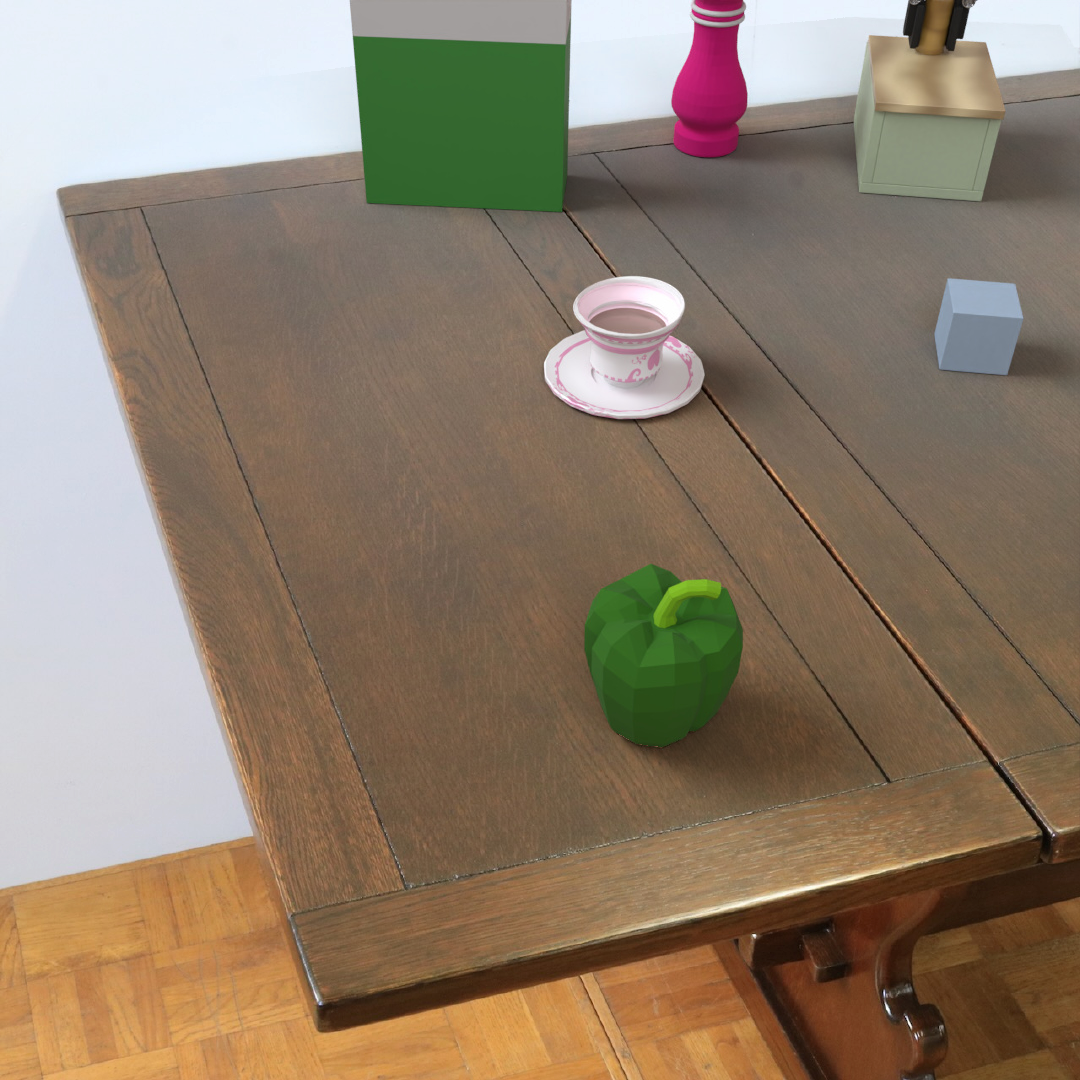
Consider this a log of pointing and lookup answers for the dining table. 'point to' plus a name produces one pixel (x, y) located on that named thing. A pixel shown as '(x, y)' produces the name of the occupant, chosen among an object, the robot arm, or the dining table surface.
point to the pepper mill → (711, 82)
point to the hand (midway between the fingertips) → (931, 42)
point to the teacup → (625, 352)
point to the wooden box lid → (934, 72)
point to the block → (978, 326)
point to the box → (920, 150)
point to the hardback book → (464, 101)
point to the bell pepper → (662, 653)
